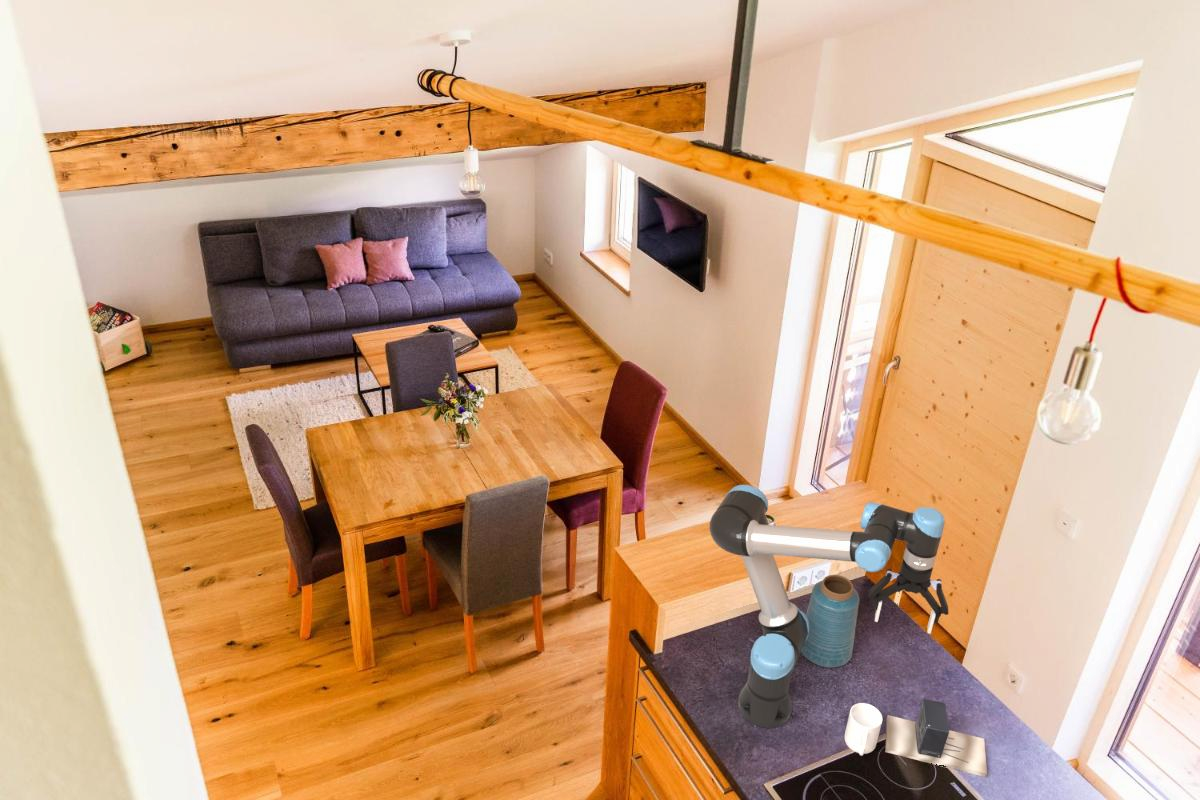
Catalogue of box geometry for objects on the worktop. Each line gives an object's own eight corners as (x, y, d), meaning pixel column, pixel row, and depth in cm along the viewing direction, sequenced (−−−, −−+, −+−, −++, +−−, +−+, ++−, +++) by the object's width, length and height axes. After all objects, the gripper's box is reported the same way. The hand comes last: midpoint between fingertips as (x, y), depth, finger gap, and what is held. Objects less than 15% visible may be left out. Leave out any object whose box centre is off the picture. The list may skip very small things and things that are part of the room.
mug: (843, 761, 241) (849, 733, 236) (844, 726, 251) (850, 699, 246) (875, 768, 239) (883, 741, 234) (875, 733, 249) (882, 706, 244)
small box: (942, 759, 240) (950, 732, 235) (917, 754, 241) (925, 727, 236) (938, 728, 249) (946, 702, 244) (914, 723, 250) (921, 697, 245)
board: (885, 751, 244) (886, 748, 243) (886, 718, 254) (887, 714, 253) (985, 777, 237) (987, 773, 237) (982, 742, 247) (984, 738, 247)
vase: (787, 648, 277) (798, 582, 264) (818, 624, 287) (831, 559, 274) (831, 678, 267) (845, 611, 254) (861, 652, 276) (877, 586, 263)
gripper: (867, 561, 228) (854, 622, 238) (970, 582, 221) (951, 644, 232) (868, 543, 234) (855, 604, 244) (968, 563, 228) (950, 625, 238)
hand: (902, 624), depth 238 cm, fingers open, 13 cm apart
